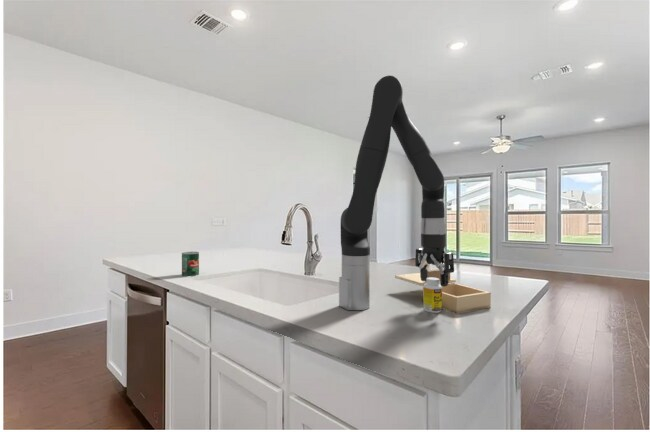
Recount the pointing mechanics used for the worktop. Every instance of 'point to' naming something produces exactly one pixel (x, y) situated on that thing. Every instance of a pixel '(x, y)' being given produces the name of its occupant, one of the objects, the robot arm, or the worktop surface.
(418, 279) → the lid
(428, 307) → the supplement bottle
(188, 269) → the canned tomato
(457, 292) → the box
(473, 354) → the worktop surface
